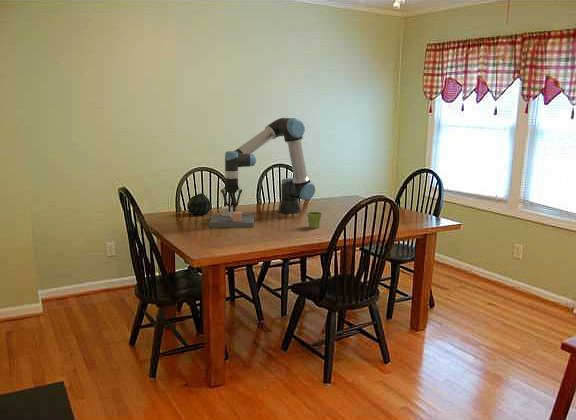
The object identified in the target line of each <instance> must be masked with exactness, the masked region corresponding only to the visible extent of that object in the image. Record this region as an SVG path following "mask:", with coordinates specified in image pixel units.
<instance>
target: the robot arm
mask: <svg viewBox="0 0 576 420" xmlns="http://www.w3.org/2000/svg"><path fill="white" fill-rule="evenodd" d="M305 128H306V126H305V124H304V122H303V121H302V120H301V119H299V118H296V117H280V118H278V119H276V120H274V121H272V122H271V123H269V124H268V125H266V126H265V127H264V129H263V130H262V131H260V132H259V133H258V134H256V135H254V136H253V137H251V138H250V139H249V140H248V141H246V142H244V143H243V144H242V145H240V146H239V147H238V148H236V149H235V150H229V151H225V154H224V177H225V178H224V180H225V181H224V187H223V188H221V189H220V192H221V194H222V196H223V201H224V205H225V207H228V211H229V212H230V218H233V212H235V211H236V206H238V205H239V202H240V197H241V195H242V193H243V189H242V188H240V186H239V179H238V177H239V168H246V167H249V168H250V167H253V166H255V165H256V162H257V159H256V158H257V157H256V155H255V154H253V153H255V152H256V151H257V150H258V149H260V148H261V147H263V146H264V145H266V144H267V143H269V142H270V141H271V140H276V139H277V138H279V137H283V139H284V142H285V143H286V144H287V147H288V152H289V158H290V162H291V168H292V173H293V174H292V175H293V177H287V178H282V180H281V184H280V185H281V186H280V191H281V192H280V194H281V195H280V197H281V198H280V203H279V205H278V212H279V213H281V214H287V215H288V214H293V215H294V214H299V213H301V210H302V209H301V206H300V202H299V200H302V201H309V200H312V198H313V197H314V195H315V193H316V186H315V185H314V183H312V182H311V177H310V176H308V173H307V167H306V161H305V157H304V151H303V146H302V140H303V138H304V137H303V136H304V134H305V132H306V131H305V130H306V129H305ZM226 192H227V194H228V195H227V196H228V197H227V196H226ZM237 192H238V194H237V198H236V193H237ZM231 195H232V198H231ZM231 200H232V202H231ZM231 204H232V205H231Z"/></svg>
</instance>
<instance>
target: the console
mask: <svg viewBox="0 0 576 420" xmlns="http://www.w3.org/2000/svg"><path fill="white" fill-rule="evenodd" d="M254 227H255V214H254V213H242V220H241V222H233V218H230V216H222V213H212V214H211V217H210V220H209V224H208V228H242V229H243V228H247V229H248V228H253V229H254Z"/></svg>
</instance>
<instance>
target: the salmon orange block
mask: <svg viewBox="0 0 576 420" xmlns="http://www.w3.org/2000/svg"><path fill="white" fill-rule="evenodd" d="M242 214H243V213H242V211H237V210H235V212H233V222H241V220H242Z"/></svg>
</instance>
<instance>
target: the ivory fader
mask: <svg viewBox="0 0 576 420" xmlns="http://www.w3.org/2000/svg"><path fill="white" fill-rule="evenodd" d="M221 214H222V216H230V212H229V211H228V206H222V207H221Z"/></svg>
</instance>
